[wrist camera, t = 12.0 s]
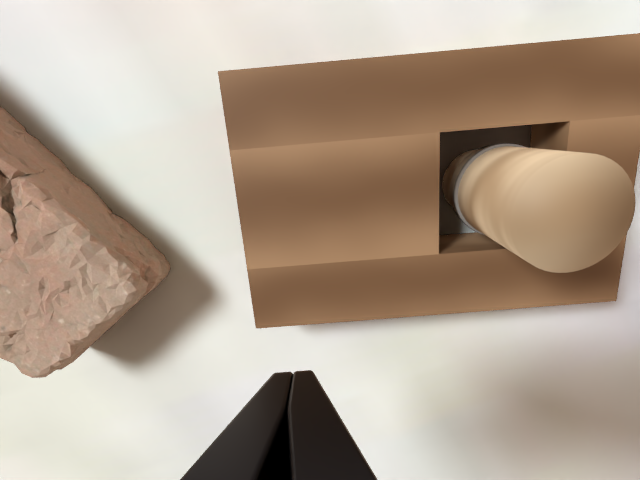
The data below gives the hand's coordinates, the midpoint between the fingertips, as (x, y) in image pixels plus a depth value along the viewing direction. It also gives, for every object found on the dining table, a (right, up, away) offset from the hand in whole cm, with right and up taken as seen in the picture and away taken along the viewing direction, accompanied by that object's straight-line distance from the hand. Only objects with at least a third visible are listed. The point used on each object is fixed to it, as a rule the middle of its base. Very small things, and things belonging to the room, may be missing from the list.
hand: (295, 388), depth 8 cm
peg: (+9, +6, +12) cm, 16 cm away
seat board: (+6, +6, +12) cm, 14 cm away
